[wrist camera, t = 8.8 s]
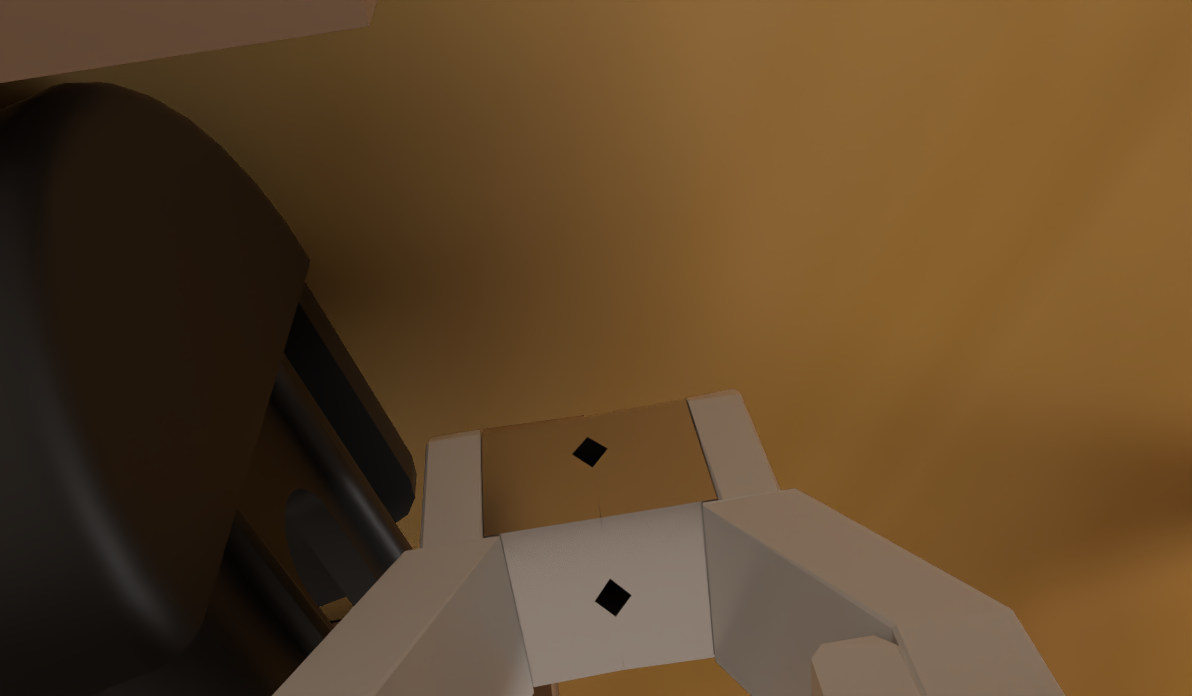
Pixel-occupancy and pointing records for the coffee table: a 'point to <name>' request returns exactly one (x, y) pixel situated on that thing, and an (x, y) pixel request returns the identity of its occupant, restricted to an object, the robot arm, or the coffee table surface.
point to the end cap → (170, 416)
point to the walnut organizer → (159, 39)
